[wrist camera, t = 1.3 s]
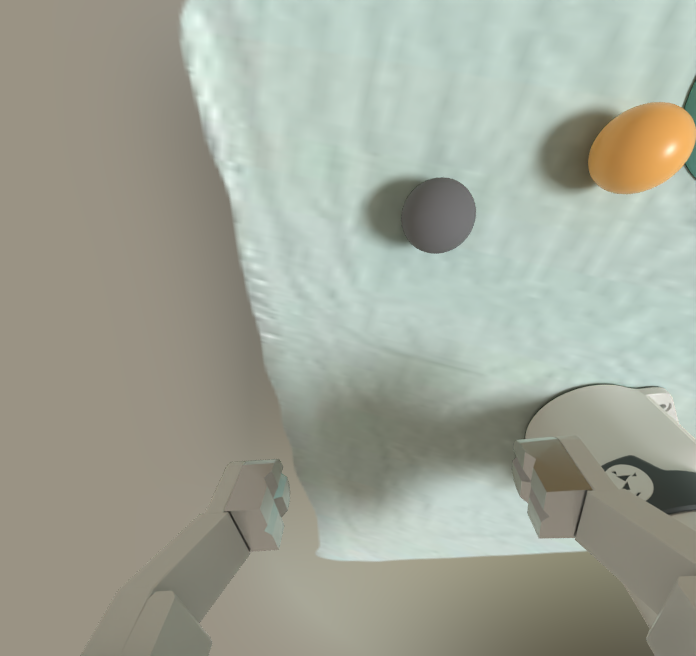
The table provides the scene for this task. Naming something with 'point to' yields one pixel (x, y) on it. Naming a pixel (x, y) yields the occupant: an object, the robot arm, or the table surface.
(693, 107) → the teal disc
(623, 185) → the orange ball
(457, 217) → the dark grey ball
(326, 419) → the table surface
